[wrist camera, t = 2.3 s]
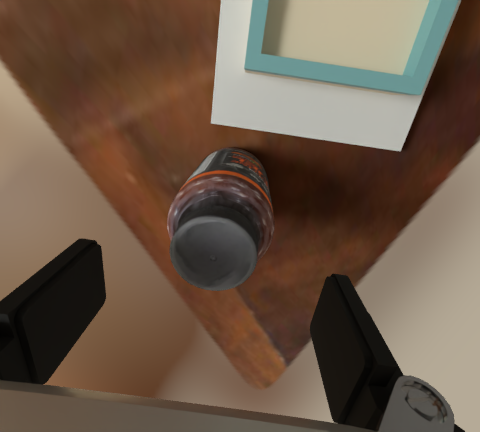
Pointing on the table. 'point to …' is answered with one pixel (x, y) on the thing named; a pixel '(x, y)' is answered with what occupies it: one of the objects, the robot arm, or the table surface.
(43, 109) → the table surface
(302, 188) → the table surface
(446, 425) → the robot arm
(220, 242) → the supplement bottle
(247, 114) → the teal framed tray
